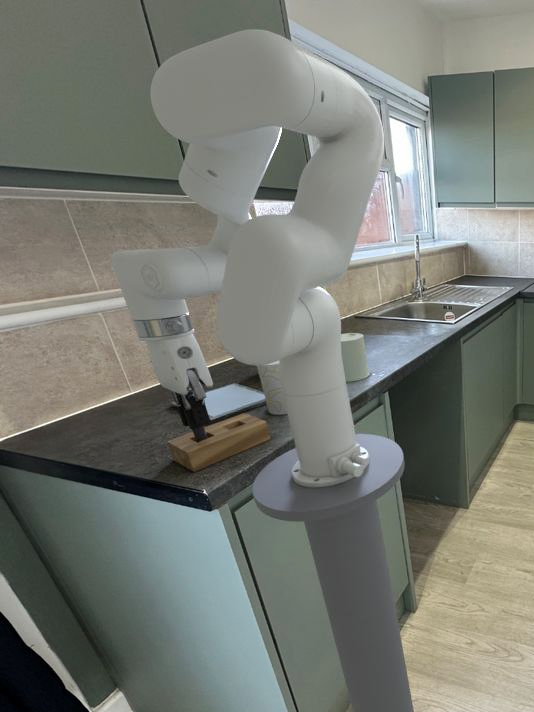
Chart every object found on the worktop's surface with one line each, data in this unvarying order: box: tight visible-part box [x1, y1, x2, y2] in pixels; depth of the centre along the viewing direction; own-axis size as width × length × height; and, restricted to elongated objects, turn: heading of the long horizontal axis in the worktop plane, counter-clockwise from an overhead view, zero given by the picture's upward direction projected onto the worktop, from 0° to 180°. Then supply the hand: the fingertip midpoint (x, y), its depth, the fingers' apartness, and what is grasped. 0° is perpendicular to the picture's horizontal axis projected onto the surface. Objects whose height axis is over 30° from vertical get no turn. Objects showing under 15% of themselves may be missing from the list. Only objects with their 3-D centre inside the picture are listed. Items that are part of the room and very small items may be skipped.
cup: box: [256, 360, 288, 416], centre depth 97 cm, size 8×8×12 cm
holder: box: [166, 412, 271, 473], centre depth 80 cm, size 8×14×4 cm, turn 148°
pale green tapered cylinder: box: [341, 332, 371, 383], centre depth 116 cm, size 9×9×12 cm
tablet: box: [170, 382, 267, 424], centre depth 103 cm, size 20×15×1 cm
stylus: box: [182, 395, 208, 442], centre depth 76 cm, size 2×2×12 cm
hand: (197, 424), depth 76 cm, fingers closed on stylus, 1 cm apart
